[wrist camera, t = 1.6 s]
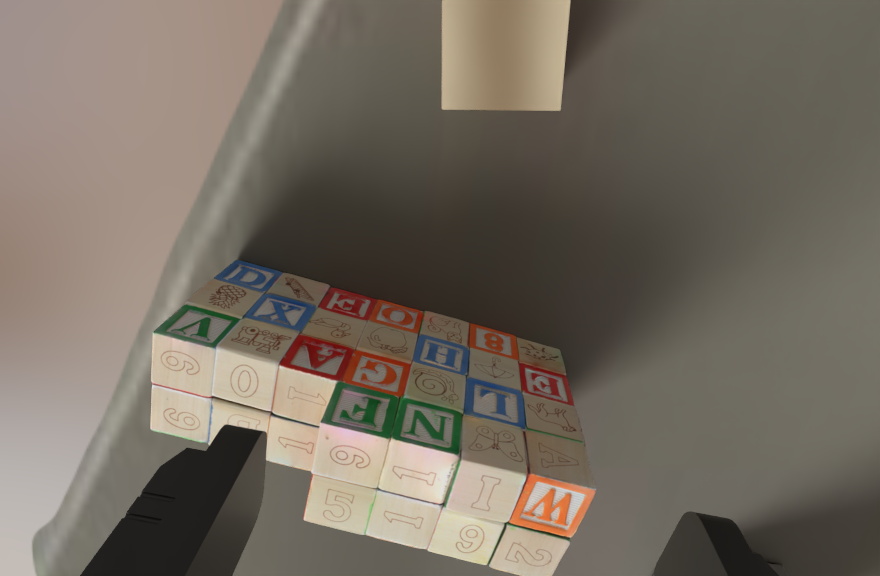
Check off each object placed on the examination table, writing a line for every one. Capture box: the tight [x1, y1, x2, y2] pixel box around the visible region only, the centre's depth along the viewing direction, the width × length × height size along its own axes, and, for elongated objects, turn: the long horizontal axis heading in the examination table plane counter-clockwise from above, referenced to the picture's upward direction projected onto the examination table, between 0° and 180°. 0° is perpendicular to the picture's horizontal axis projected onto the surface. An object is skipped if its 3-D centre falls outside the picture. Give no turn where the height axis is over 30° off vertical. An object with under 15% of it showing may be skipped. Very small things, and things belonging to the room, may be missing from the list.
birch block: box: [442, 0, 571, 111], centre depth 24 cm, size 5×5×6 cm
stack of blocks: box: [151, 260, 596, 576], centre depth 29 cm, size 21×6×12 cm, turn 75°
